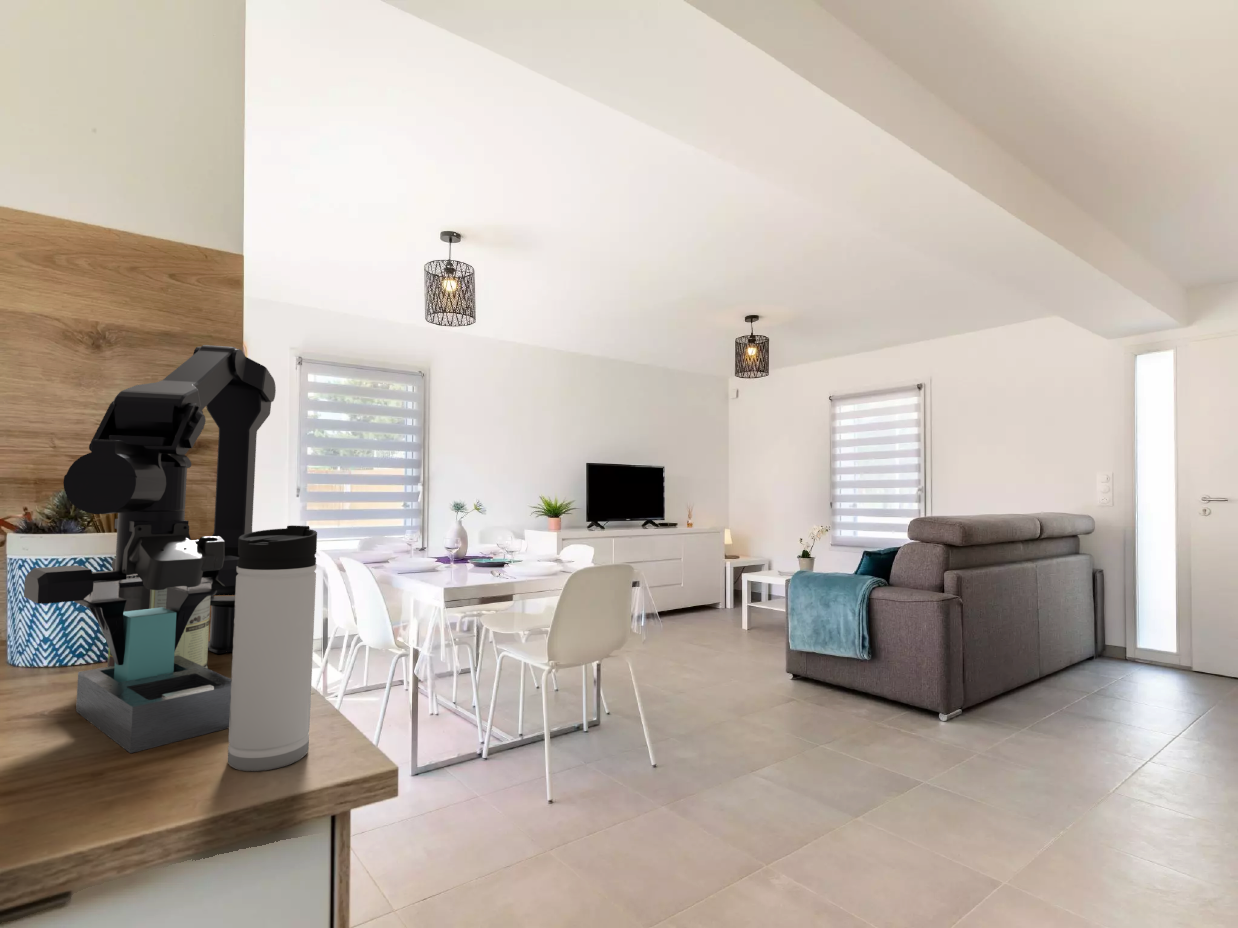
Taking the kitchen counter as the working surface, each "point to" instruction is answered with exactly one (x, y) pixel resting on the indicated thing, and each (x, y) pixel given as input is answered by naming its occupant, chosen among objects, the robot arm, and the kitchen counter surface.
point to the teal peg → (147, 644)
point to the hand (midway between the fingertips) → (144, 660)
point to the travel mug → (272, 648)
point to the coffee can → (195, 631)
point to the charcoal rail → (155, 704)
